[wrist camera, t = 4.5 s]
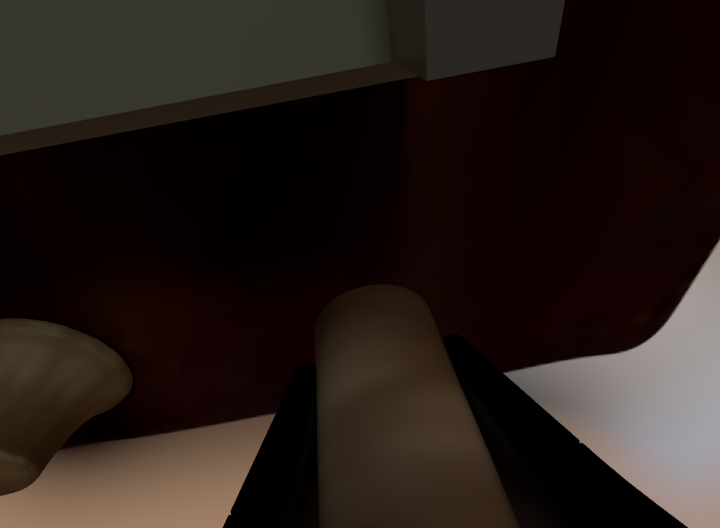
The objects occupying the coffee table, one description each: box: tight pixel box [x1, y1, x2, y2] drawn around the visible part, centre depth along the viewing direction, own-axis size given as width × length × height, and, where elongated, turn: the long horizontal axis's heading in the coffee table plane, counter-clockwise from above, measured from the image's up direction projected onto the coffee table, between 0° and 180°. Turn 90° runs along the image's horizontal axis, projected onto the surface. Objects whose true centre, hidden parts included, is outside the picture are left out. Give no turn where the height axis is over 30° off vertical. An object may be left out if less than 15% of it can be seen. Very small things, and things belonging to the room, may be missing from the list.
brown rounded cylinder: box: [315, 284, 520, 528], centre depth 8 cm, size 3×3×6 cm
